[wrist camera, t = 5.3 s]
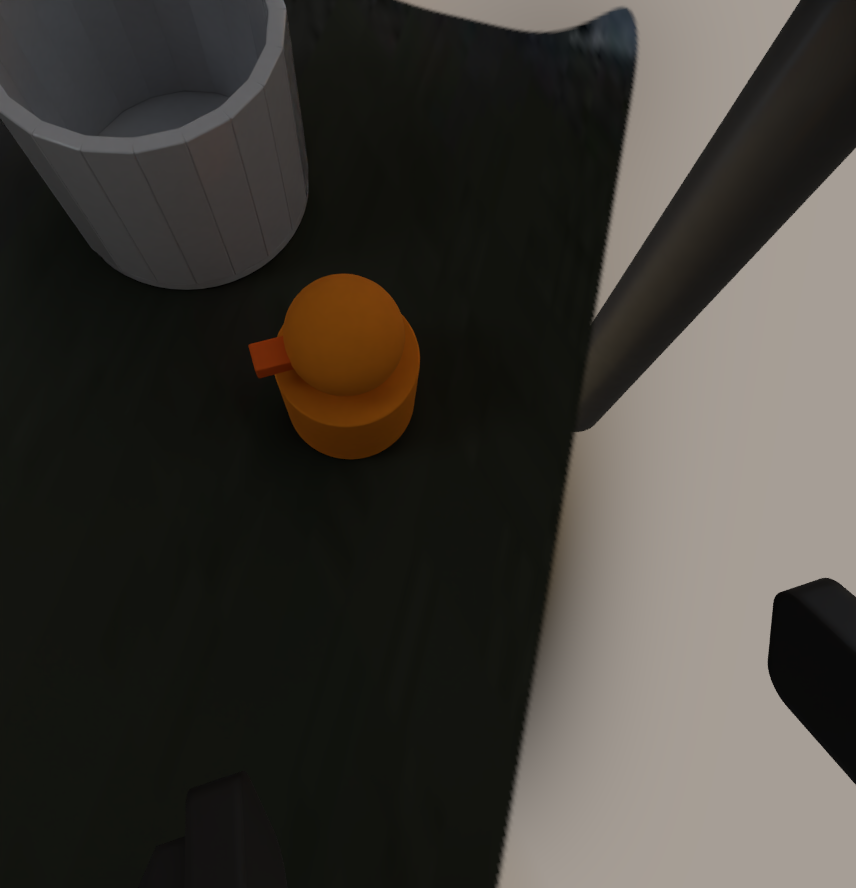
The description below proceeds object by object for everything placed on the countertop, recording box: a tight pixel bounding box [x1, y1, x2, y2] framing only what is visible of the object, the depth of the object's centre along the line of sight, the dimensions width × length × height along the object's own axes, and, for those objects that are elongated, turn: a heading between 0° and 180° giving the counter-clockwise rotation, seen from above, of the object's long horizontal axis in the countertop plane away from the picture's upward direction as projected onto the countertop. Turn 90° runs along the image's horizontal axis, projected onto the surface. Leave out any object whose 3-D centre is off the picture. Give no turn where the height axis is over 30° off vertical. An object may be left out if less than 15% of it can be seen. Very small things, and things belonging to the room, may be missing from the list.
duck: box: [249, 274, 420, 459], centre depth 27 cm, size 6×5×8 cm
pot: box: [0, 0, 309, 290], centre depth 29 cm, size 10×10×9 cm
